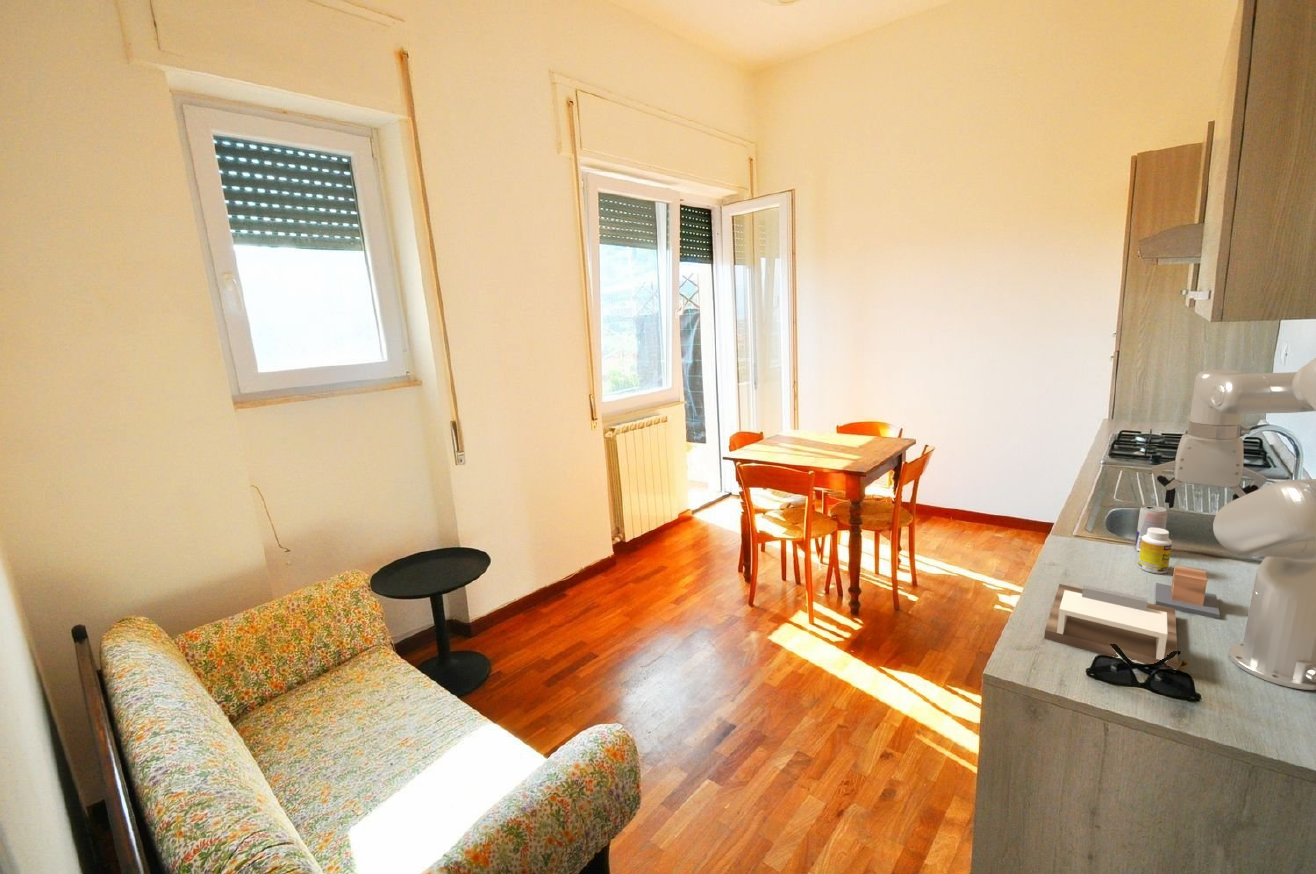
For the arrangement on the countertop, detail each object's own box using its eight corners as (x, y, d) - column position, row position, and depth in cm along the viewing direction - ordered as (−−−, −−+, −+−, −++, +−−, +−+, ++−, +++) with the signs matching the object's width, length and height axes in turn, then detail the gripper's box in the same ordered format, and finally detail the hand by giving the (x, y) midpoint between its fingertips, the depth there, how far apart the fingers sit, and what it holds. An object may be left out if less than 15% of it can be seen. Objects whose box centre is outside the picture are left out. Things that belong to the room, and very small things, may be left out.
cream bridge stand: (1062, 612, 121) (1065, 581, 119) (1163, 637, 110) (1168, 603, 109) (1056, 632, 114) (1060, 599, 112) (1163, 660, 104) (1168, 624, 102)
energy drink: (1151, 547, 152) (1157, 504, 149) (1166, 556, 146) (1173, 511, 144) (1129, 547, 152) (1135, 505, 149) (1144, 556, 147) (1150, 512, 144)
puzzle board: (1058, 591, 133) (1059, 583, 133) (1173, 617, 120) (1175, 608, 120) (1044, 638, 116) (1045, 629, 116) (1176, 674, 103) (1177, 664, 103)
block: (1171, 590, 129) (1174, 565, 127) (1201, 596, 126) (1205, 571, 124) (1171, 599, 125) (1175, 574, 124) (1202, 606, 122) (1207, 580, 121)
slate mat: (1215, 598, 126) (1216, 594, 126) (1219, 619, 119) (1219, 614, 119) (1155, 586, 133) (1156, 582, 132) (1155, 605, 125) (1156, 601, 125)
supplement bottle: (1162, 576, 137) (1168, 536, 134) (1134, 568, 141) (1139, 530, 139) (1171, 569, 140) (1177, 530, 137) (1142, 562, 144) (1148, 524, 142)
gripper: (1271, 431, 114) (1257, 512, 118) (1157, 424, 125) (1147, 498, 129) (1277, 438, 109) (1262, 523, 112) (1157, 431, 120) (1147, 508, 123)
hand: (1201, 510), depth 121 cm, fingers open, 9 cm apart
